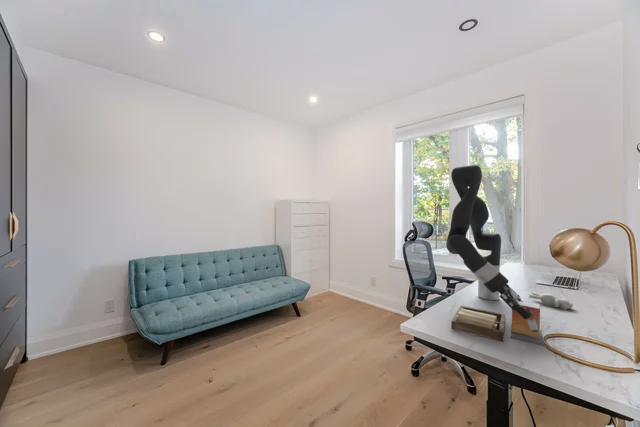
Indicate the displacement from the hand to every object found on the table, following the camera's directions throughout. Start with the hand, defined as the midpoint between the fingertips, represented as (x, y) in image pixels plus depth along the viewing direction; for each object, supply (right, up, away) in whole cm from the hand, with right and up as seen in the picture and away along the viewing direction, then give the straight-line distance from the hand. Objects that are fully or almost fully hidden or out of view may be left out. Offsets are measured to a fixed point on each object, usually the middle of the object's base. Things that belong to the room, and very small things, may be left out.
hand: (527, 313), depth 95 cm
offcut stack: (-16, -8, +4) cm, 18 cm away
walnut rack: (-12, -8, +8) cm, 17 cm away
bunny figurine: (+35, -8, +30) cm, 47 cm away
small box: (0, -7, +1) cm, 7 cm away
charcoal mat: (0, -8, 0) cm, 8 cm away
